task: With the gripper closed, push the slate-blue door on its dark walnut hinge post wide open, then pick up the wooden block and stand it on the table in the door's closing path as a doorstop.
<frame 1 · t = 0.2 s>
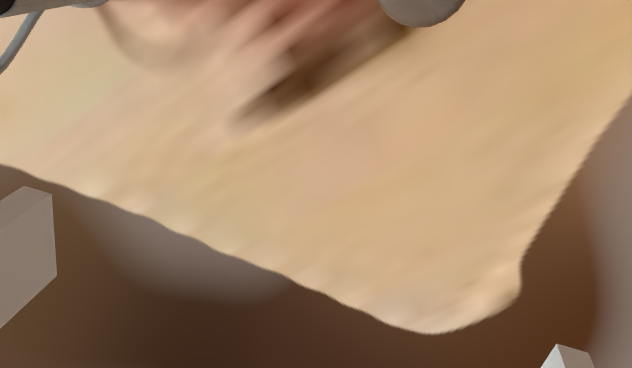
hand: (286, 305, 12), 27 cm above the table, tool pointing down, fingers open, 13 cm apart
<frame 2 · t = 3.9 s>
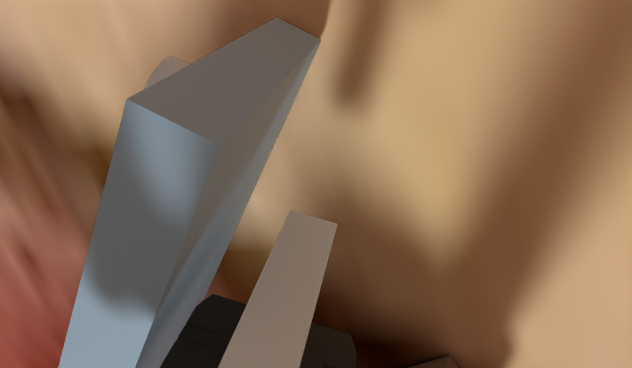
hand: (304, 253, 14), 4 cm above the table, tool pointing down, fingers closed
door: (167, 234, 14), point 5 cm above the table, hinge at 0.2°, touching gripper
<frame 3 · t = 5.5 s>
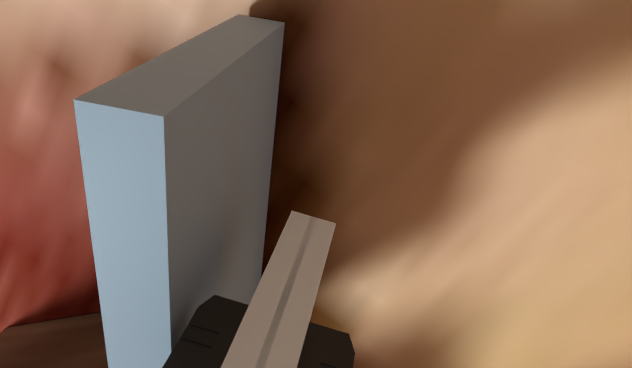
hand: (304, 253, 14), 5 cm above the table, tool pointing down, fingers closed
door frame: (353, 289, 21), on the table
door: (190, 240, 15), point 5 cm above the table, hinge at 63.5°, touching gripper
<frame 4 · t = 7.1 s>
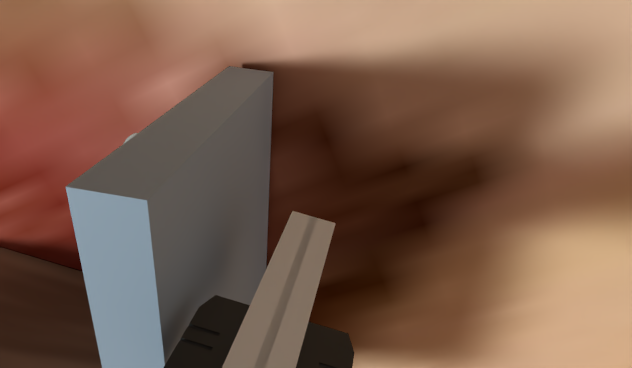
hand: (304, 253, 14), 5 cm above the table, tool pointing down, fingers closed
door: (190, 286, 16), point 5 cm above the table, hinge at 97.8°, touching gripper
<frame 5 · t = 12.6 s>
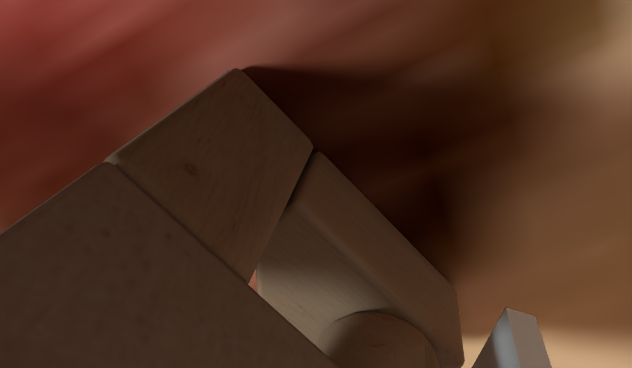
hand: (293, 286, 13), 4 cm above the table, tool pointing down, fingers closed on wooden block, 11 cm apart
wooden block: (319, 209, 17), on the table, touching gripper
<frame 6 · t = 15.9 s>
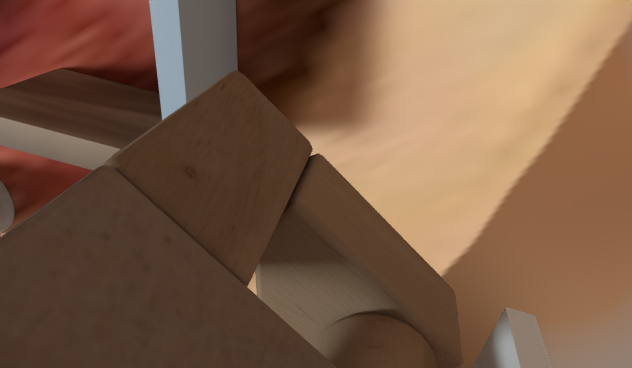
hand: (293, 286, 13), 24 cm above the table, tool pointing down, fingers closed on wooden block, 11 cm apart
door frame: (297, 140, 37), on the table
door: (192, 41, 30), point 5 cm above the table, hinge at 98.5°
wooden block: (319, 210, 17), point 20 cm above the table, touching gripper
when the fingers open (5 cm above the table, at t = 19.4 s): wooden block stays where it is, on the table.
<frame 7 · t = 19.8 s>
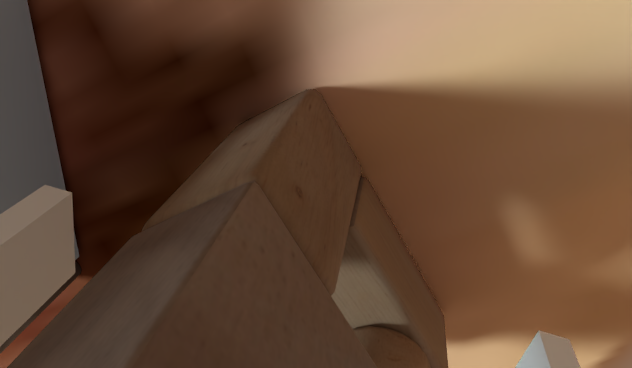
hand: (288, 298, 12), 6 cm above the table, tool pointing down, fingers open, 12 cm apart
door frame: (183, 301, 22), on the table
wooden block: (345, 223, 18), on the table
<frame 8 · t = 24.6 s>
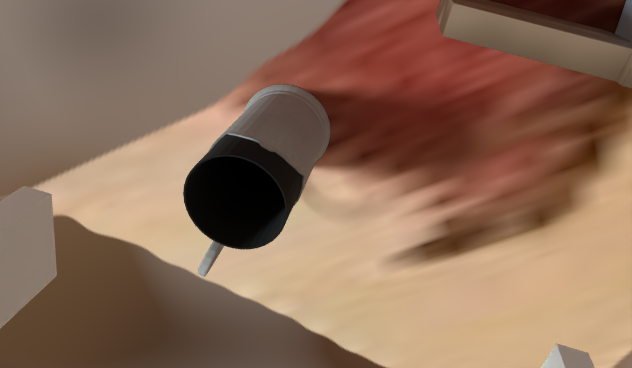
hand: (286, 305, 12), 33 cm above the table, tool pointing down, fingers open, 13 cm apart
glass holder: (274, 150, 47), on the table
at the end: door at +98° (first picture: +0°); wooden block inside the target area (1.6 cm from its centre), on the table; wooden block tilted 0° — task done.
